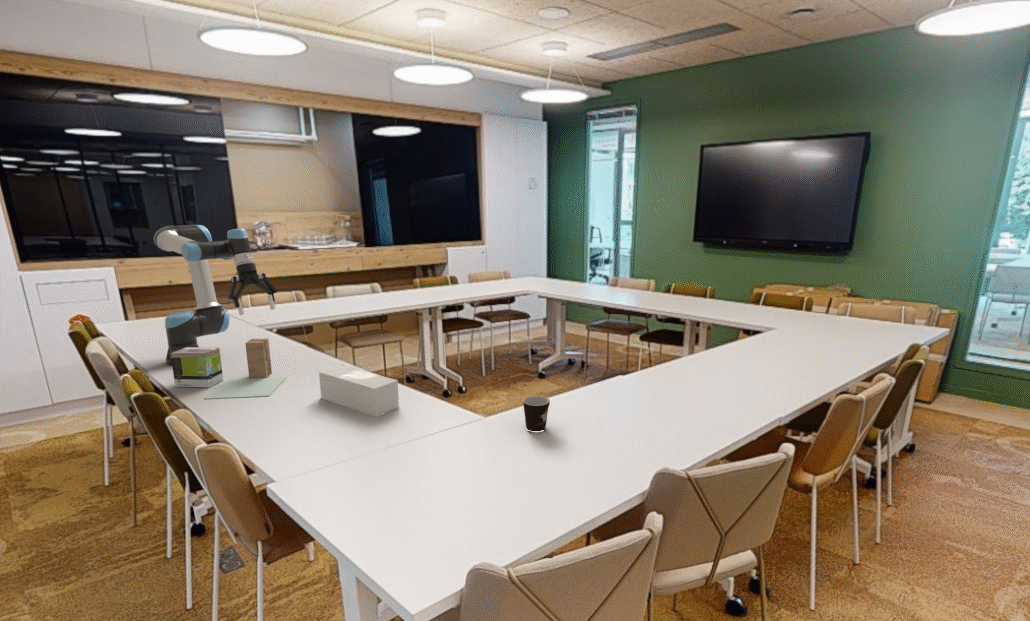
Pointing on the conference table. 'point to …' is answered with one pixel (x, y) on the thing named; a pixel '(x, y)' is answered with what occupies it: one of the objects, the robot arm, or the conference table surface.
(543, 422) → the coffee mug
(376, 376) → the stack of papers
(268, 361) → the walnut block
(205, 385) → the tea box
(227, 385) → the mat
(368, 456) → the conference table surface
